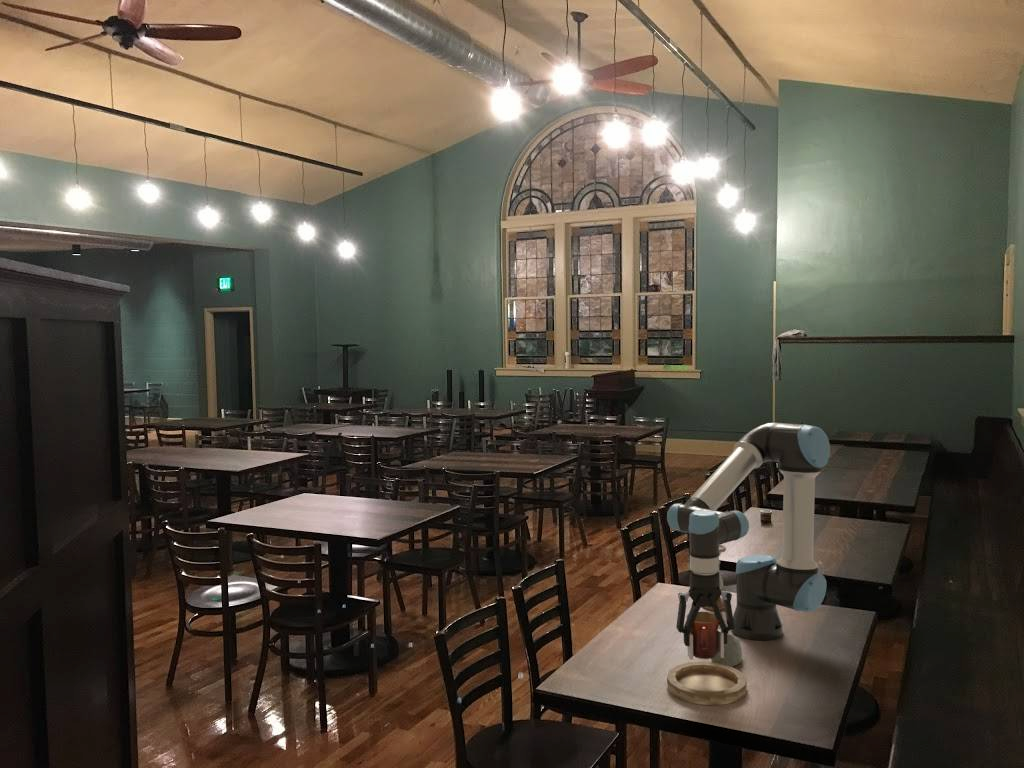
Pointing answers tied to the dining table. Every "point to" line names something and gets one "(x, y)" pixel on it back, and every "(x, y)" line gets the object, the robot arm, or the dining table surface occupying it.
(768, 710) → the dining table surface
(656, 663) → the dining table surface
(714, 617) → the mug
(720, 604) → the candle holder
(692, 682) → the round tray
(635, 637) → the dining table surface
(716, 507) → the robot arm
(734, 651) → the decorative stone
